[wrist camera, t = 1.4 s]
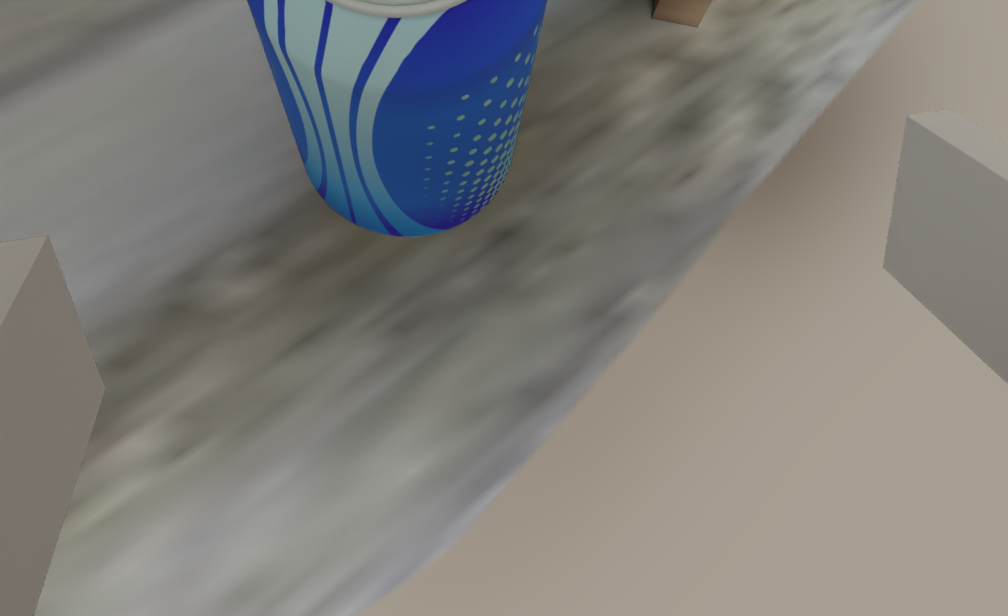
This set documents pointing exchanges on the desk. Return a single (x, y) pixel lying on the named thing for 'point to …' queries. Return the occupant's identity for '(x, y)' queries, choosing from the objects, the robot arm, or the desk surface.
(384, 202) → the beer can
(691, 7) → the shelf stand
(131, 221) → the desk surface
